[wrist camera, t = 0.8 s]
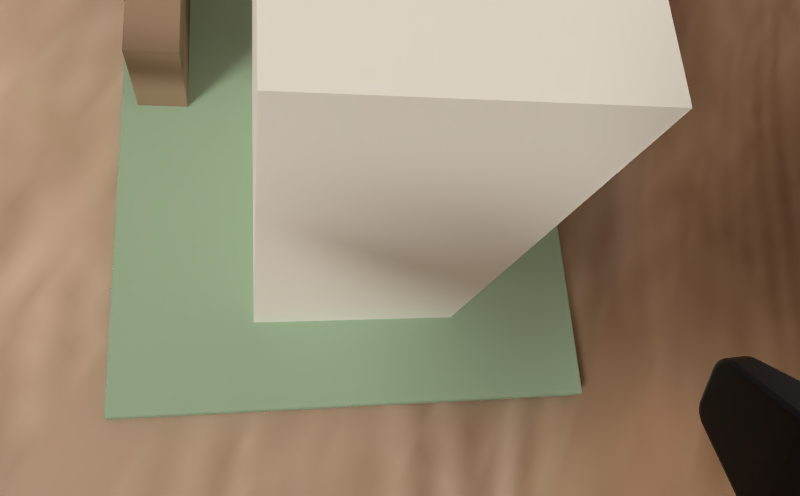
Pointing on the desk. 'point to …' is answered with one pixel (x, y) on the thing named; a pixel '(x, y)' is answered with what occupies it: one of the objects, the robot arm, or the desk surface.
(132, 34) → the wooden tray
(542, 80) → the cream block
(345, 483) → the desk surface
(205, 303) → the putting strip
